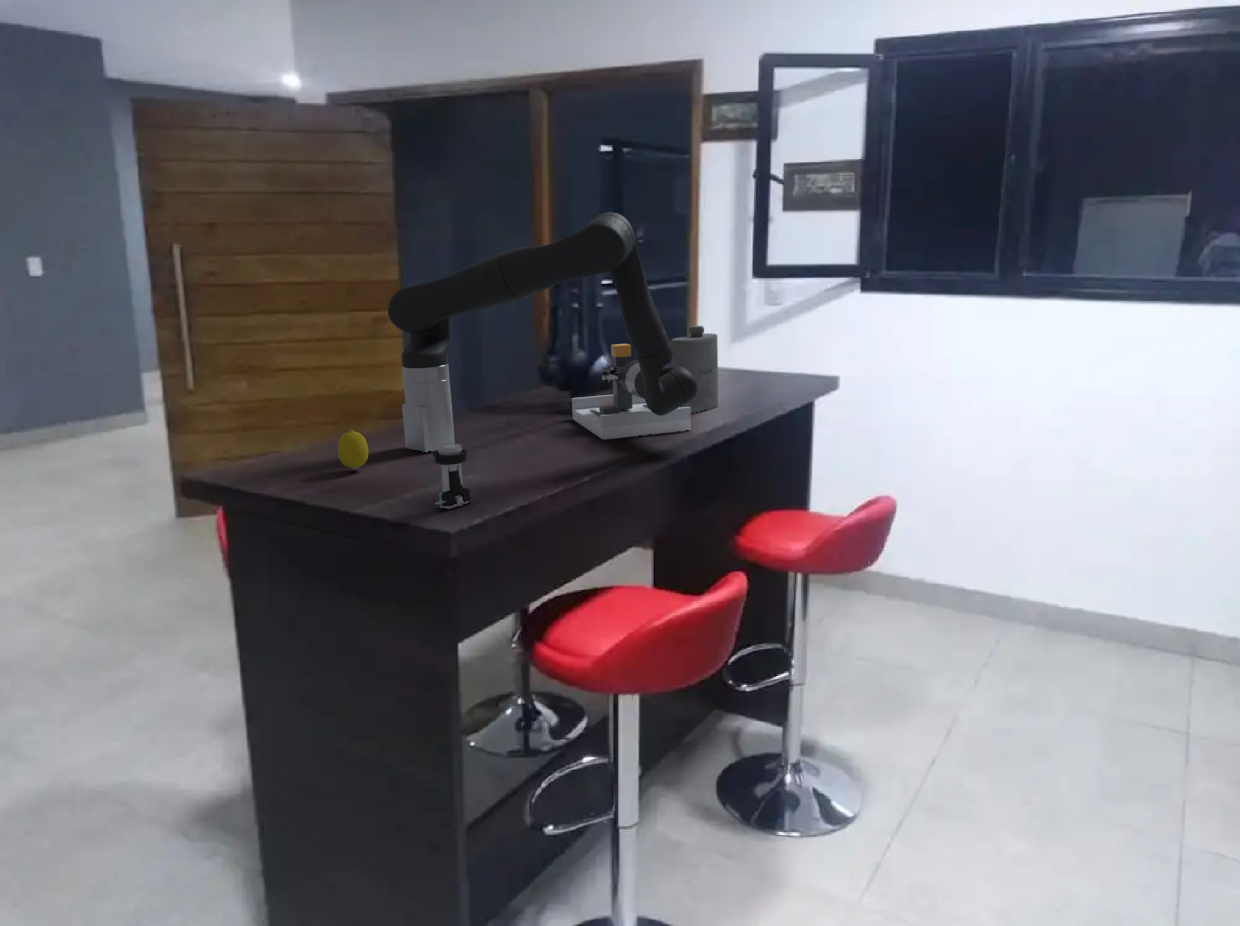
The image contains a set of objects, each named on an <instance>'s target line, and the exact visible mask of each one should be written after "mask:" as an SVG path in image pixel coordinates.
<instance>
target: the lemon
mask: <svg viewBox="0 0 1240 926" xmlns="http://www.w3.org/2000/svg"><path fill="white" fill-rule="evenodd" d="M337 456H338V458H339V461H340V462H341V465H343V466H345V467H346V468H348V467H350V468H349V469H351V468H355V467H359V468H361V467H362V466H364V465H365V464H366V462H367V460H368V458H369V447H368V442H367V440H366V438H365V436H363V434H361V433H360V432H358V431H355V430H354V429H349V430H348V431H347V432H344V433H343V434H342V435H341V436H340V438H339V439H338V442H337ZM360 466H361V467H360Z"/></svg>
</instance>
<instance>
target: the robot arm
mask: <svg viewBox="0 0 1240 926" xmlns="http://www.w3.org/2000/svg"><path fill="white" fill-rule="evenodd" d="M637 243H638V242H637V241H636V236H635V233H634V229H633V226H632V224H631V223H630V221H629V220H628V219H627V218H626V217H624V216H623V215H622V214H620V213H618V212H614V211H613V212H612V211H609V212H608V211H607V212H603V213H600V214H599V215H597V216H596V217H595V218H593V219H592V220H591V221H590V222H589V223H588V224H587V225H586V226H585V227H583V228H582V229H580V230H578V231H576V232H575V233H572V234H570V235H568V236H565V237H564V238H561V239H559V240H557V241H554V242H552V243H548V244H545V245H544V244H543V245H536V246H533V245H532V246H524V247H517V248H513V249H510V250H507V251H503V252H501V253H498V254H495V255H493V256H490V257H486V258H484V259H483V260H480V261H478V262H476V263H473V264H471V265H468V266H467V267H464V268H462V269H460V270H458V271H455V272H454V273H451V274H449V275H447V276H445V277H442V278H438V279H436V280H431V281H428V282H423V283H418V284H413V285H407V286H403V287H402V288H399V289H398V290H397V291H395V293H394V294H393V295H392V297H391V298H390V300H389V302H388V307H387V315H388V318H389V320H390V321H391V324H393V326H394V327H396V328H397V329H399V330H400V331H402V332H406V333H409V341H408V344H407V345H406V348H405V349H403V351H402V353H401V356H400V357H401V366H402V367H401V368H402V376H403V389H404V399H405V403H403V404H402V405H401V409H402V411H401V412H402V420H403V431H404V440H405V441H404V443H405V449H406V448H410V449H415V450H419V451H423V452H422V453H424V452H426V453H429V452H428V451H431V452H435V451H436V450H438V447H439V446H440V445H444V444H456V443H455V431H454V430H455V429H454V418H453V417H454V416H453V407H452V403H453V402H452V394H451V381H450V370H449V368H450V367H449V353H450V350H451V342H452V341H451V317H453V316H455V315H458V314H462V313H463V314H464V313H469V312H474V311H482V310H486V309H491V308H496V307H499V306H503V305H504V306H505V305H507V304H510V303H512V302H517V301H519V300H522V299H525V298H527V297H530V296H532V295H535V294H538V293H540V292H543V291H545V290H548V289H550V288H552V287H554V286H556V285H559V284H562V283H564V282H565V283H566V282H568V281H571V280H576V279H581V278H585V277H590V276H594V275H599V274H604V273H609V276H610V278H611V280H612V283H613V284H614V288H615V290H616V293H617V296H618V297H617V298H618V301H619V305H620V310H621V311H620V312H621V315H622V321H623V326H624V329H625V332H626V335H627V338H628V341H629V343H630V345H631V349H632V350H633V353H634V355H635V358H636V359H635V360H631V361H630V362H629V363H627V364H626V365H625V366H624V367H621V366H618V367H613V366H612V365H607V367H604V368H602V371H601V380H602V384H604V385H606V384H608V383H611V381H613V380H614V381H615V382H618V383H620V384H621V386H622V387H623V389H624V390H625V391H626V392H628V393H630V394H632V395H634V396H636V397H638V398H641V399H645V401H646V404H647V406H648V408H649V409H650V410H651V411H652V412H653V413H654V414H656V415H659V416H663V415H666V414H668V413H670V412H672V411H673V410H675V409H677V408H679V407H681V406H683V405H684V404H686V403H688V402H690V401H691V400H693V399H694V398H695V396H696V394H697V391H698V384H697V381H696V379H695V377H694V376H693V374H692V373H691V372H689V371H688V370H686V369H684V368H682V367H671V366H669V367H665V366H666V365H668V363H670V362H671V359H672V358H673V355H674V353H673V349H672V346H671V340H670V339H669V337H668V334H667V331H666V329H665V327H664V324H663V323H662V320H661V317H660V315H659V313H658V311H657V308H656V305H655V303H654V299H653V297H652V295H651V291H650V288H649V285H648V281H647V279H646V276H645V272H644V268H643V265H642V262H641V258H640V253H639V247H638V244H637Z"/></svg>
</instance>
